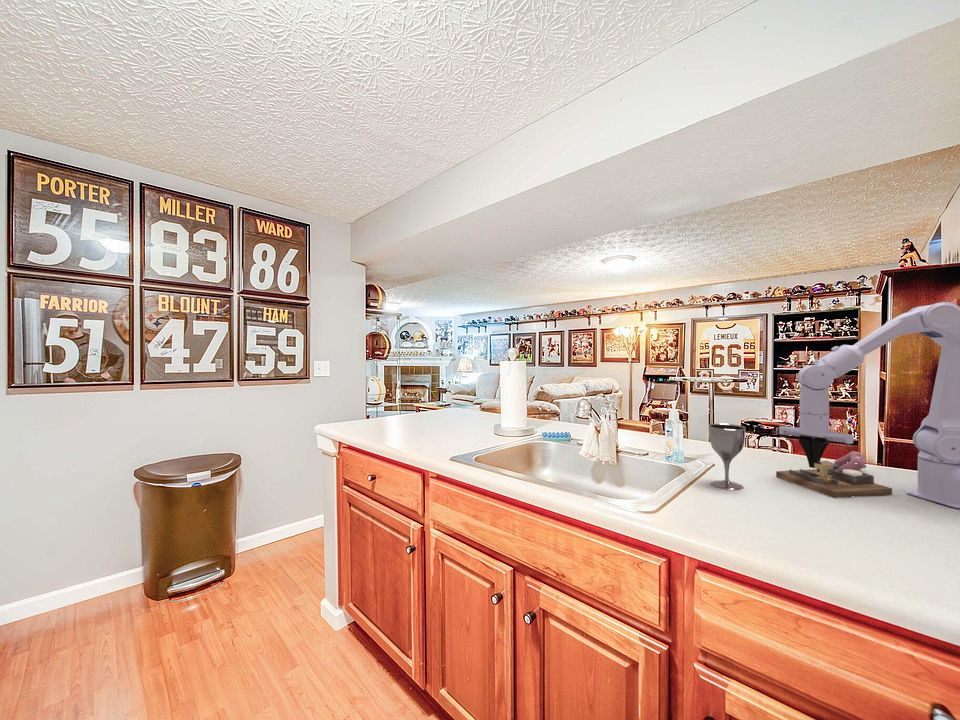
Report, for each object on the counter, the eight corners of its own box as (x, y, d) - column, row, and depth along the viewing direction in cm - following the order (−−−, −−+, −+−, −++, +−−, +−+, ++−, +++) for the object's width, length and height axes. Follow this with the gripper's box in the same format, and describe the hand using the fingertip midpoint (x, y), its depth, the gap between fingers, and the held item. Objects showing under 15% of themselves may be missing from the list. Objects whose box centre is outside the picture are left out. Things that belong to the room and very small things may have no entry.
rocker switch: (838, 469, 106) (839, 466, 105) (830, 470, 105) (830, 466, 105) (826, 464, 109) (827, 461, 109) (818, 465, 108) (819, 461, 108)
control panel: (891, 494, 95) (892, 479, 95) (834, 498, 93) (834, 483, 93) (826, 474, 111) (826, 461, 111) (776, 476, 109) (776, 463, 109)
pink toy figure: (856, 482, 108) (872, 461, 106) (836, 472, 111) (851, 451, 109) (850, 473, 116) (865, 453, 114) (832, 464, 119) (846, 444, 117)
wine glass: (709, 487, 101) (709, 428, 101) (708, 478, 108) (708, 422, 108) (747, 492, 98) (747, 430, 97) (743, 482, 105) (743, 424, 104)
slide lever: (833, 482, 98) (833, 464, 98) (822, 483, 98) (822, 465, 98) (824, 479, 101) (824, 461, 101) (813, 480, 100) (813, 462, 100)
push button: (866, 481, 99) (866, 473, 99) (853, 482, 98) (853, 473, 98) (851, 476, 102) (851, 468, 102) (838, 477, 102) (838, 469, 102)
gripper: (857, 415, 98) (857, 471, 98) (786, 408, 110) (786, 458, 110) (847, 418, 94) (847, 476, 94) (775, 411, 106) (775, 462, 106)
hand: (814, 467), depth 102 cm, fingers closed
